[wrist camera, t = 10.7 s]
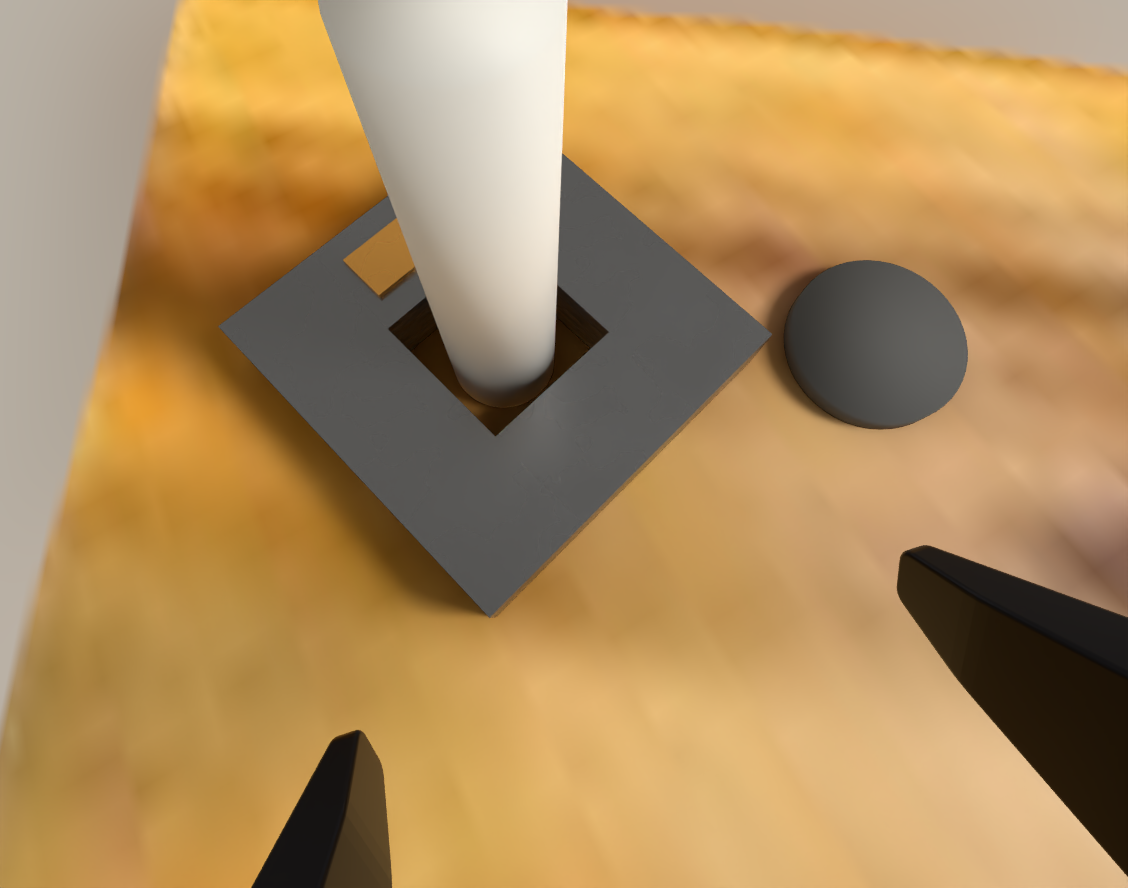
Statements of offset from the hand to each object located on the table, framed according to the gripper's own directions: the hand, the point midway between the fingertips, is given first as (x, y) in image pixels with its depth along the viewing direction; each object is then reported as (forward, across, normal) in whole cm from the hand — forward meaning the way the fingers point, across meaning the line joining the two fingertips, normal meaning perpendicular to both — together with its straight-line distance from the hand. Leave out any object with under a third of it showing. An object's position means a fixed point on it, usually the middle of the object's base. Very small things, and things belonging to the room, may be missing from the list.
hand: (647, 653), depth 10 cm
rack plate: (+16, 0, +1) cm, 17 cm away
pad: (+14, -14, +4) cm, 20 cm away
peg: (+16, 0, +1) cm, 17 cm away
